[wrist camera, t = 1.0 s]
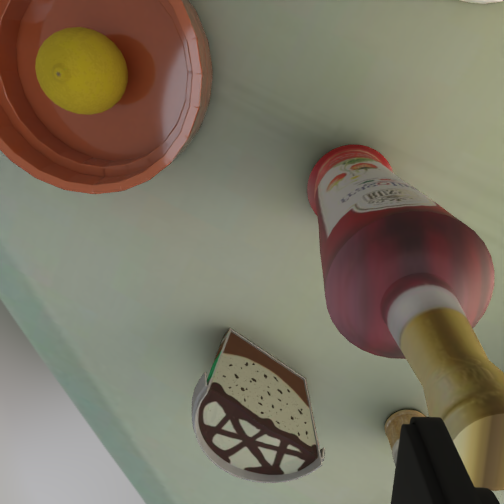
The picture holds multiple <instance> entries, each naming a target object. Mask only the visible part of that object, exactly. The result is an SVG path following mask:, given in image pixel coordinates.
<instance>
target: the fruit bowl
mask: <svg viewBox="0 0 504 504" xmlns="http://www.w3.org/2000/svg"><path fill="white" fill-rule="evenodd" d="M72 27H83V28H88V29H93V30H95V31H97V32H99V33H101V34H103V35H105V36H106V37H108V38H109V39H110V40H111V41H112V42H114V43H115V45H116V46H117V47H118V48H119V50H120V51H121V53H122V55H123V57H124V59H125V61H126V65H127V70H128V83H127V86H126V90H125V92H124V94H123V96H122V98H121V99H120V100H119V101H118V102H117V103H116V104H115V105H114V106H113V107H112V108H110V109H108V110H106V111H104V112H102V113H97V114H92V115H86V114H76V113H73V112H70V111H67V110H65V109H63V108H61V107H60V106H58V105H56V104H55V103H54V102H53V101H52V100H50V99H49V98H48V97H47V96H46V94H45V93H44V91H43V90H42V88H41V87H40V84H39V82H38V79H37V75H36V69H35V65H36V57H37V54H38V51H39V48H40V47H41V45H42V44H43V42H44V41H45V40H46V39H47V38H48V37H50V36H51V35H52V34H53V33H55V32H58V31H60V30H63V29H65V28H72ZM212 75H213V70H212V64H211V57H210V50H209V43H208V39H207V37H206V34H205V32H204V29H203V27H202V24H201V22H200V19H199V17H198V14H197V12H196V10H195V8H194V7H193V6H192V4H191V3H190V1H189V0H0V150H1V151H2V152H3V153H4V154H5V155H6V156H7V157H8V158H9V159H10V160H11V161H12V162H13V163H15V164H16V165H18V166H19V167H21V168H22V169H23V170H25V171H26V172H28V173H29V174H31V175H32V176H33V177H35V178H37V179H39V180H42V181H44V182H46V183H49V184H51V185H54V186H56V187H59V188H61V189H64V190H69V191H76V192H83V193H89V194H101V193H110V192H119V191H124V190H127V189H129V188H132V187H134V186H136V185H139V184H141V183H144V182H146V181H148V180H150V179H151V178H153V177H154V176H155V175H156V174H158V173H159V172H160V171H161V170H163V169H164V168H165V167H167V166H168V165H169V164H170V163H171V162H172V161H174V160H175V159H176V158H177V157H178V156H179V155H180V154H181V153H182V152H183V151H184V150H185V149H186V147H187V146H188V145H189V143H190V142H191V140H192V139H193V138H194V136H195V135H196V133H197V132H198V131H199V129H200V127H201V125H202V122H203V119H204V116H205V114H206V111H207V108H208V106H209V102H210V95H211V85H212Z"/></svg>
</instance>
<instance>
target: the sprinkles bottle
mask: <svg viewBox="0 0 504 504" xmlns="http://www.w3.org/2000/svg"><path fill="white" fill-rule="evenodd" d="M412 417H425V416H424V415H423V414H422V413H420V412H418V411H415V410H400V411H398V412H396V413H394V414H393V415H391V416H390V417H389V418H388V419H387V421H386V424H385V433H386V435H387V437H388V439H389V443H390V446H391V449H392V456H393V459H394V463H395V466H396V462H397V454H398V446H399V439H400V431H401V426H402V424H409V423H410V419H411V418H412Z"/></svg>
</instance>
